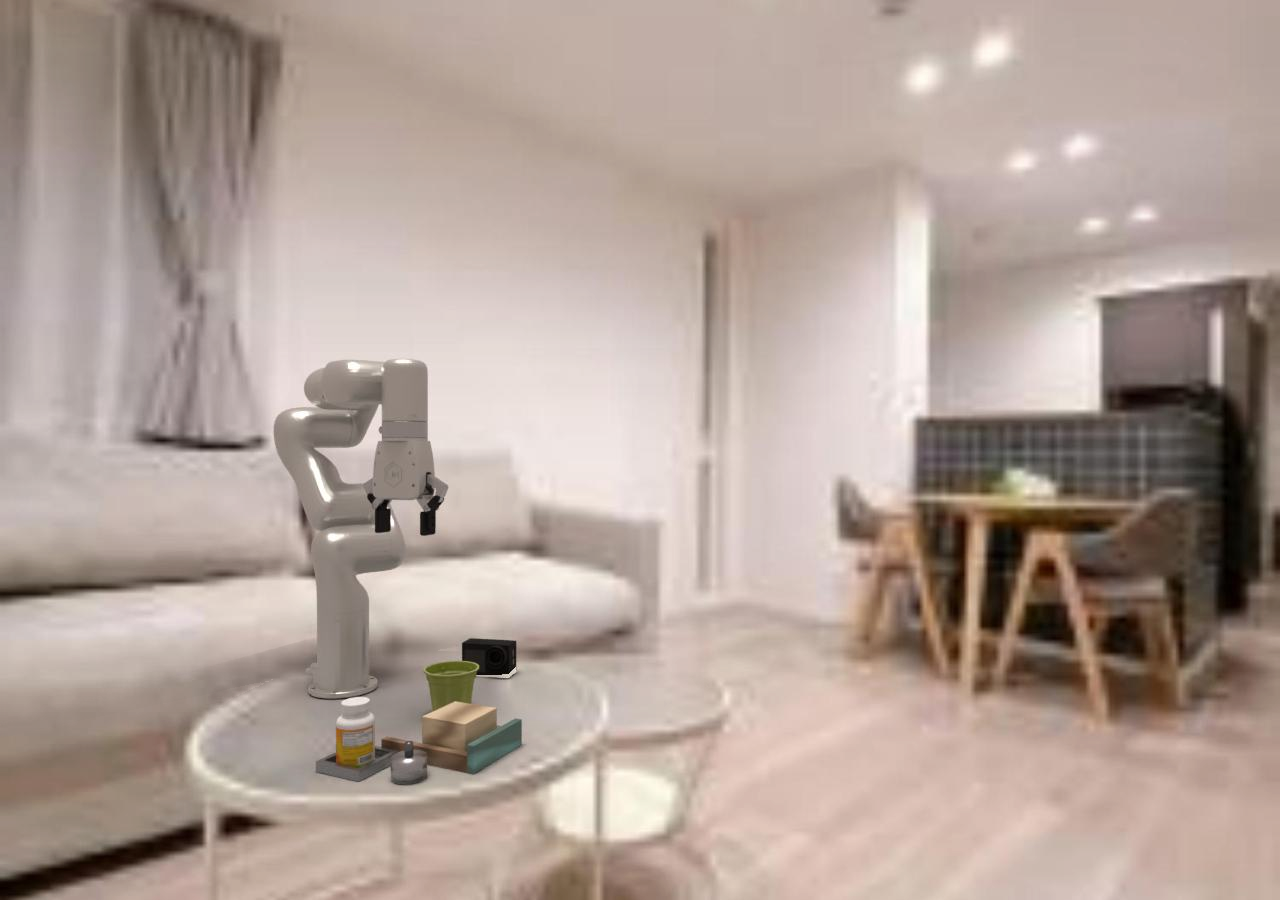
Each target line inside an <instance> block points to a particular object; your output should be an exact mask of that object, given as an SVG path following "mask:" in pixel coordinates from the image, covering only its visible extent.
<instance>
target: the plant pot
mask: <svg viewBox="0 0 1280 900" xmlns="http://www.w3.org/2000/svg"><path fill="white" fill-rule="evenodd" d="M478 669H479V665H478V664H476V663H473V662H468V661H462V660H446V661H441V662H436V663H432V664H428V665H426V666H425V667H424V668H423V673H424V674H425V676H426V677H425V678H426V681H427V682H428V688H429V694H430V695H429V697H430V701H431V710H432V712H433V711H435V710H438V709H440V708H442V707H444V706H446V705H448V704H451V703H453V702H455V701H456V702H463V703H469V704H472V698H473V692H474V684H475V679H476V678H477V677H476V672H477V671H478Z"/></svg>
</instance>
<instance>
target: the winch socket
mask: <svg viewBox="0 0 1280 900" xmlns="http://www.w3.org/2000/svg"><path fill="white" fill-rule="evenodd" d="M413 742H414V740H408V741H406V742H405V751H401V752H399V751H398V750H393V749H388V748H383V747H381V746H377V745H375V760H374V761H372V762H370V763H368V764H366V765H364V766H362V767H360V768H356V767H352V766H347V765H343V764H338V763H336V751H335V752H334V753H331V754H330V755H326V756H324V757H323V758H320V759H318V760H316V761H315V772H316V773H319V774H324V775H328V776H333V777H336V778H341V779H345V780H351V781H354V782H358V783H359V782H361V781H363V780H365V779H367V778H368V777H369V778H370V777H371V776H373V775H375V774H376V773H378V772H381V771H382V770H384V769H386V768H389V767H390V782H391V783H392V784H394V785H400V786H409V785H414V784H415V785H416V784H419V783H421V782H423V781H424V780H426V779H427V777H428V764H427V753H426V752H425V751H422V750H413ZM408 784H409V785H408Z"/></svg>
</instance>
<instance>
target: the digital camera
mask: <svg viewBox="0 0 1280 900" xmlns="http://www.w3.org/2000/svg"><path fill="white" fill-rule="evenodd" d="M461 661H468V662H473V663H476V664H478V665H479V669H478V671H477V672H476V675H502V674H509V673H510V672H511V671H512V670H513V669H514V668H515V667H516V668H517V640H512V639H511V640H510V639H493V638H477V637H476V638H475V637H469V638H468V639H467V640H465V641H463V642H461Z"/></svg>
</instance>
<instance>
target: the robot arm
mask: <svg viewBox="0 0 1280 900" xmlns="http://www.w3.org/2000/svg"><path fill="white" fill-rule="evenodd" d="M428 375H429V372H428V366H427V364H426V363H425V362H424V361H422V360H418V359H413V358H412V359H411V358H394V359H393V358H392V359H388V360H386V361H376V360H363V359H361V360H359V359H341V360H339V359H338V360H334V361H329V362H328V363H327V364H326V366H325V367H321V368H319V369H316V370H314V371H312V372H311V373H310V374H309V375H308V376H307V377H306V379H305V381H304V385H303V391H304V396H305V397H306V398H307V400H308V402H310V404H312V405H314V406H303V407H301V406H300V407H292V408H288V409H286V410H283V411H281V412H280V413H278V414H277V416H276V417H275V420H274V423H273V441H274V445H275V450H276V453H277V456H278V458H279V459H280V461H281V463H282V464H283V466H284V468H285V469H286V471H288V474H289V475H290V476H291V478H292V480H293V481H294V483H295V486H296V489H297V492H298V495H299V499H300V502H301V504H302V508H303V510H304V512H305V515H306V517H307V520H308V523H309V524H310V525H311V527H312V528H313V529H314V530H317V531H319V532H318V533H316V534H315V535H314V537H313V539H312V541H311V547H310V550H311V551H310V552H311V553H310V554H311V560H312V566H313V570H314V571H313V572H314V576H315V577H314V578H315V579H314V580H315V587H316V590H315V591H316V662H311V664H310V665H309V667H307V668H306V669H305V670H304V671H305V672H304V673H305V675H306V676H313V679H312V681H313V682H311V683H310V684H309V685H308V687H307V688H308V689H307V691H309V693H308V695H310V694H311V695H310V696H312V697H315V698H318V699H333V700H334V699H345V698H347V699H348V698H354V697H359V696H361V695H364V694H369V693H371V692H372V691H374V690H375V689H376V688H378V686H379V685H378V683H379V682H378V679H377V677H375V676H373V675H370V597H369V593H368V592H367V589H365V586H363V584H362V583H361V582H360V581H359V580H358V578H357V575H362V574H363V575H364V574H368V573H369V574H370V573H378V572H386V571H391V570H395V569H396V568H398V567H400V566H401V565H402V564H403V562H404V560H405V557H406V551H407V550H406V543H405V542H406V541H405V537H404V534H403V531H402V529H401V526H400V524H399V521H398V520H397V516H396V514H395V512H394V509H393V507H392V504H391V503H392V501H393V500H394V501H414V500H416V501H417V503H418V504H419V506H420V508H421V509H422V510H423V511H420V512H419V534H420V536H421V537H422V536H423V537H426V536H431V535H432V536H433V535H435V534H436V533H437V532H436V531H437V530H436V528H437V526H436V525H437V522H436V521H437V520H436V519H437V517H436V515H437V512H438V511H439V510H440V506H441V505H442V504H443V502H444V501H445V497H446V494H447V492H448V490H449V485H448V484H447V483H445V482H443V480H441V479H440V478H438V477H437V476H435V474H436V473H435V462H434V461H435V459H434V455H433V448H432V444H431V441H430V440H429V438H428V437H429V436H428V435H429V429H428V428H429V423H428V421H429V416H428V415H429V409H428V408H429V406H428V405H429V403H428V402H429V399H428V397H429V396H428V395H429V392H428V390H429V386H428V385H429V381H428V377H429V376H428ZM379 405H381V426H379V427H378V433H379V435H380V434H381V440H378V441H377V445H376V449H375V453H374V459H373V460H374V462H373V469H372V471H373V472H372V477H371V478H370V479H368V480H367V481H365V482H364V483H347V482H345V481H343V480H342V478H341V476H340V473H339V470H338V468H337V467H336V465H335V464H334V462H332V461H331V459H329V458H328V457H327V456H326V455H324V454H323V453H321V452H320V451H318V450H317V449H318V448H319V449H320V448H321V449H323V448H324V449H335V448H338V449H339V448H340V449H342V448H343V449H344V448H345V449H349V448H354V447H357V446H358V445H360V444H362V443H361V442H362V441H363V440H364V438H365V436H366V435H367V432H368V429H369V428H370V425H371V424H372V421H373V419H374V417H375V415H376V413H377V411H378V408H379ZM316 448H317V449H316ZM434 494H435V495H434Z"/></svg>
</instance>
